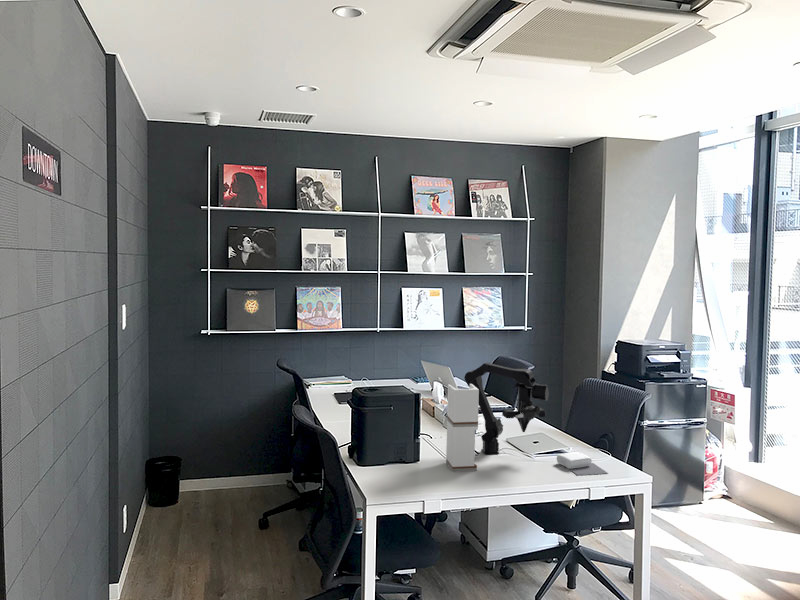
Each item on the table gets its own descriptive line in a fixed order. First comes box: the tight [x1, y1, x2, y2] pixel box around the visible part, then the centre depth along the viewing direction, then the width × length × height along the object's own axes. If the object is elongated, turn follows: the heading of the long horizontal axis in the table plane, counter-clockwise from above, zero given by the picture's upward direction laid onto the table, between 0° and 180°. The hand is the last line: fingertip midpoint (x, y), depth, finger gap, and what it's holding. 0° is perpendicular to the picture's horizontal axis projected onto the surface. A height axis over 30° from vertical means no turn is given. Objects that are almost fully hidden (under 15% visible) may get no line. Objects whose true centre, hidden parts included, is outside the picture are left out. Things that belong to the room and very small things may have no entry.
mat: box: [567, 462, 609, 476], centre depth 290 cm, size 14×13×1 cm
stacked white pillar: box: [445, 383, 479, 473], centre depth 289 cm, size 11×11×35 cm
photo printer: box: [556, 451, 593, 469], centre depth 295 cm, size 10×4×12 cm
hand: (523, 431), depth 303 cm, fingers closed
